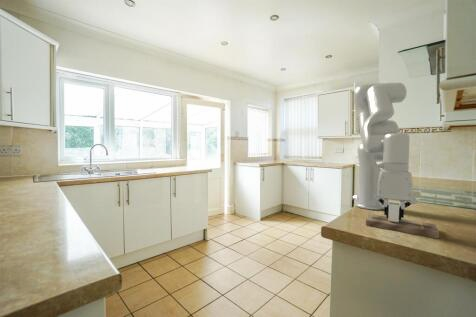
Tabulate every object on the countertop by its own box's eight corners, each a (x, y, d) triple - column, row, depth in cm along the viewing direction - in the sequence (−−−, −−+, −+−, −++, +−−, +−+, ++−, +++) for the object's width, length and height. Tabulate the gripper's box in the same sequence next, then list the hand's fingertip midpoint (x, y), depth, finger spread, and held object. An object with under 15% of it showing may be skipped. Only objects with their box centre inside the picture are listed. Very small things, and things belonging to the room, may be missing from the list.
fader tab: (388, 220, 79) (388, 204, 78) (389, 217, 83) (389, 201, 82) (398, 222, 77) (399, 205, 77) (398, 218, 81) (399, 202, 80)
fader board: (365, 225, 81) (366, 219, 81) (369, 218, 88) (369, 213, 88) (438, 238, 69) (439, 232, 69) (435, 230, 76) (435, 224, 76)
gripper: (367, 167, 81) (366, 216, 82) (426, 169, 71) (423, 226, 72) (370, 166, 87) (369, 211, 88) (424, 168, 77) (422, 220, 78)
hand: (393, 217), depth 80 cm, fingers closed on fader tab, 3 cm apart
